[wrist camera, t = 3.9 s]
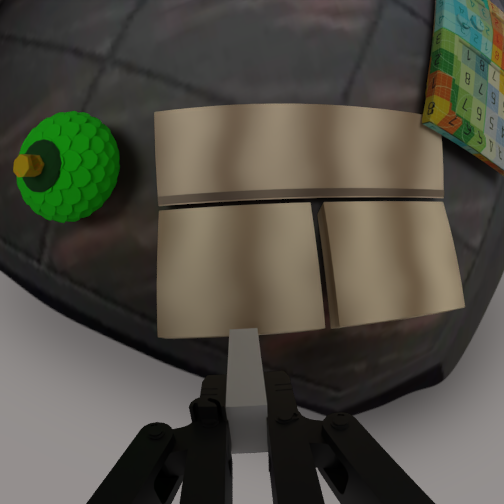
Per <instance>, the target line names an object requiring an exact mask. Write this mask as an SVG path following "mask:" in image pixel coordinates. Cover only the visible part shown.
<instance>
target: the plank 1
mask: <svg viewBox="0 0 504 504" xmlns="http://www.w3.org/2000/svg"><path fill="white" fill-rule="evenodd" d="M248 328H257V329H258V335H267V334H281V333H293V332H304V331H315V330H320V329H324V328H325V320H324V309H323V299H322V289H321V280H320V271H319V263H318V255H317V247H316V239H315V231H314V224H313V217H312V210H311V203H310V202H307V203H278V204H255V205H235V206H218V207H202V208H187V209H173V210H161V211H159V222H158V249H157V330H158V337H159V338H166V339H167V338H211V337H229V331H230V329H248Z"/></svg>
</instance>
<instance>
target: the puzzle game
mask: <svg viewBox="0 0 504 504" xmlns="http://www.w3.org/2000/svg"><path fill="white" fill-rule="evenodd" d="M425 97H426V100H425V106H424V112H423V116H422V124H423V125H425V126H427V127H429V128H430V129H432V130H434V131H436V132H437V133H439V134H441V135H443V136H444V137H446V138H448V139H449V140H451V141H452V142H454V143H456V144H457V145H459V146H460V147H462V148H464V149H465V150H467V151H468V152H470V153H471V154H473V155H474V156H476V157H477V158H479V159H480V160H482V161H483V162H485V163H486V164H487V165H489V166H490V167H492V168H493V169H494V170H496V171H497V172H499V173H500V174H501V175H503V176H504V12H502V11H501V10H500V9H499V8H498V7H497V6H495V5H494V4H493V3H492V2H491V1H489V0H435V13H434V26H433V38H432V47H431V56H430V64H429V72H428V79H427V85H426V92H425Z"/></svg>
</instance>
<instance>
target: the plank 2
mask: <svg viewBox="0 0 504 504" xmlns="http://www.w3.org/2000/svg"><path fill="white" fill-rule="evenodd" d="M317 216H318V223H319V230H320V237H321V245H322V253H323V260H324V269H325V277H326V286H327V295H328V305H329V315H330V325H331V329H334V328H342V327H351V326H359V325H367V324H374V323H381V322H388V321H395V320H401V319H408V318H414V317H420V316H426V315H431V314H437V313H442V312H448V311H452V310H456V309H460V308H463V307H465V304H464V297H463V290H462V284H461V278H460V273H459V267H458V262H457V257H456V252H455V248H454V243H453V239H452V235H451V230H450V226H449V222H448V218H447V215H446V211H445V207H444V204H443V202H420V201H354V202H323V204H322V206H321V208H320V210H319V212H318V214H317Z"/></svg>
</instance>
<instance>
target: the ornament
mask: <svg viewBox="0 0 504 504" xmlns="http://www.w3.org/2000/svg"><path fill="white" fill-rule="evenodd" d="M101 123H102V122H101V120H99V119H97V118H95V117H91V116H90V115H89V114H87V113H84V112H83V113H77V112H76V111H71V112H66V113H64V112H60V113H57V114H55V115H53V116H51V117H50V118H46V119H44V120H43V121H42V122H40V123H39V125H38V126H37V127H36V128H33V129H32V130H31V132H30V133H29V134H28V136H27V138H26V139H25V140H24V142H23V144H22V147H21V150H20V154H19V156H18V157H17V158H16V159H15V161H14V167H13V172H14V173H15V174H16V175H17V185H18V188H19V189H20V191H21V194H22V198H23V200H24V201H25V203H26V204H27V205H29V206H30V207H31V209H32V210H33V211H34V212H35V213H36V214H38V215H41V216H42V217H44V218H45V219H47V220H54V221H57V222H62V223H65V222H66V221H68V222H75V221H78V220H79V219H80V218H85V217H87V216H90V215H91V214H92V213H93V212H94V211H96V210H97V209H99V208H101V207H102V206H103V203H104V202H105V201H106V200H107V199H108V198H109V196H110V195H111V193H112V190H113V189H114V188H115V186H116V183H117V177H118V174H119V170H120V164H119V160H120V159H119V158H120V157H119V150H118V148H117V143H116V140H115V139H114V137H113V135H112V134H111V132H110V129H109V128H108V127H107V126H105V125H104V124H101Z"/></svg>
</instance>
